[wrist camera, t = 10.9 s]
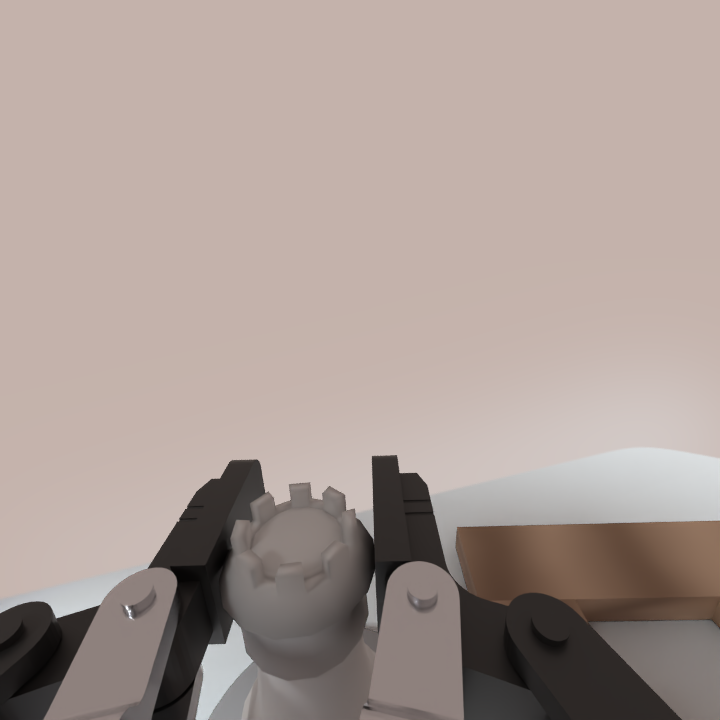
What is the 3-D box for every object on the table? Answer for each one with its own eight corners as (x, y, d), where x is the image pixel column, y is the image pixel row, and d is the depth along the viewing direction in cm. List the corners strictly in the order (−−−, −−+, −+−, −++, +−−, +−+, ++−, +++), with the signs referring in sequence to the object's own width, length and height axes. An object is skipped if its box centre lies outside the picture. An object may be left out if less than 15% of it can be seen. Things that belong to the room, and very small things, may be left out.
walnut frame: (632, 1183, 7) (649, 1171, 6) (455, 547, 20) (456, 527, 19) (1459, 1202, 6) (1549, 1192, 6) (722, 541, 19) (730, 520, 19)
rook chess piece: (405, 902, 8) (405, 651, 5) (208, 867, 8) (115, 624, 6) (405, 667, 12) (405, 461, 9) (273, 654, 13) (237, 455, 10)
